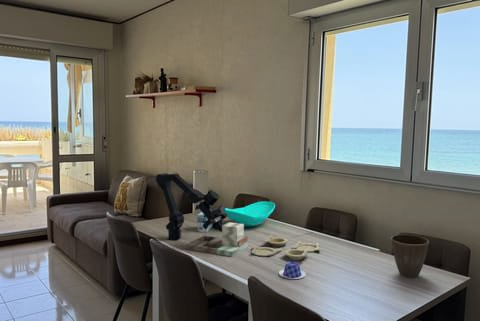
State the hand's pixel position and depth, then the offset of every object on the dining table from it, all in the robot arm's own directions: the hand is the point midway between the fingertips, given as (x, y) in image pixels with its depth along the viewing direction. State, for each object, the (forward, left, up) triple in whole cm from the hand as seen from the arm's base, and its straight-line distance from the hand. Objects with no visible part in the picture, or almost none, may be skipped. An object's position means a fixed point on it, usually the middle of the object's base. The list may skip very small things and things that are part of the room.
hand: (225, 232), depth 207 cm
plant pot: (+88, -25, -8) cm, 92 cm away
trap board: (-4, -3, -8) cm, 9 cm away
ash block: (+5, -1, -5) cm, 7 cm away
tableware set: (+33, -1, -8) cm, 34 cm away
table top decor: (+5, +46, -8) cm, 47 cm away
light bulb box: (-21, +31, -8) cm, 38 cm away
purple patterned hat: (+38, -33, -8) cm, 51 cm away
